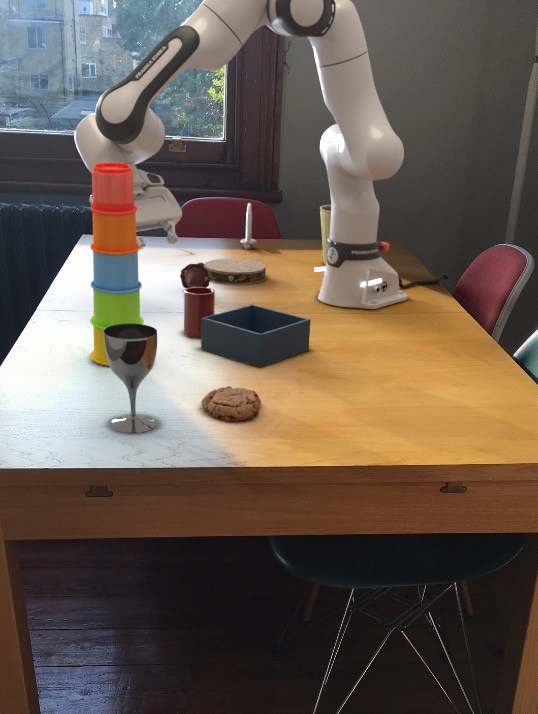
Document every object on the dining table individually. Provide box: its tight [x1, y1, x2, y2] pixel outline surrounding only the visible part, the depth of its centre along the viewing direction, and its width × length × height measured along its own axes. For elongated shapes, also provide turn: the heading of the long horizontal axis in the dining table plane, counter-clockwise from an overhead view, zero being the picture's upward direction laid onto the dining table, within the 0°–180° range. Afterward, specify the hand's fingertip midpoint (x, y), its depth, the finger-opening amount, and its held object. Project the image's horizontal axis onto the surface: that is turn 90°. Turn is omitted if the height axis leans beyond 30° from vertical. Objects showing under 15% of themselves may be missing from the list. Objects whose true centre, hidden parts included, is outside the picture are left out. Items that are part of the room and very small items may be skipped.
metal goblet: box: [104, 324, 158, 434], centre depth 135 cm, size 8×8×15 cm
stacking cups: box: [89, 163, 145, 367], centre depth 158 cm, size 10×10×35 cm
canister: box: [183, 287, 216, 339], centre depth 180 cm, size 6×6×9 cm
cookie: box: [201, 385, 262, 422], centre depth 144 cm, size 10×11×3 cm
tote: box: [200, 303, 312, 368], centre depth 172 cm, size 15×15×6 cm
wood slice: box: [204, 258, 267, 285], centre depth 227 cm, size 16×16×3 cm
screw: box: [239, 202, 258, 250], centre depth 257 cm, size 13×5×5 cm
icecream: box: [179, 262, 211, 289], centre depth 211 cm, size 7×7×15 cm
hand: (158, 245), depth 181 cm, fingers open, 8 cm apart
